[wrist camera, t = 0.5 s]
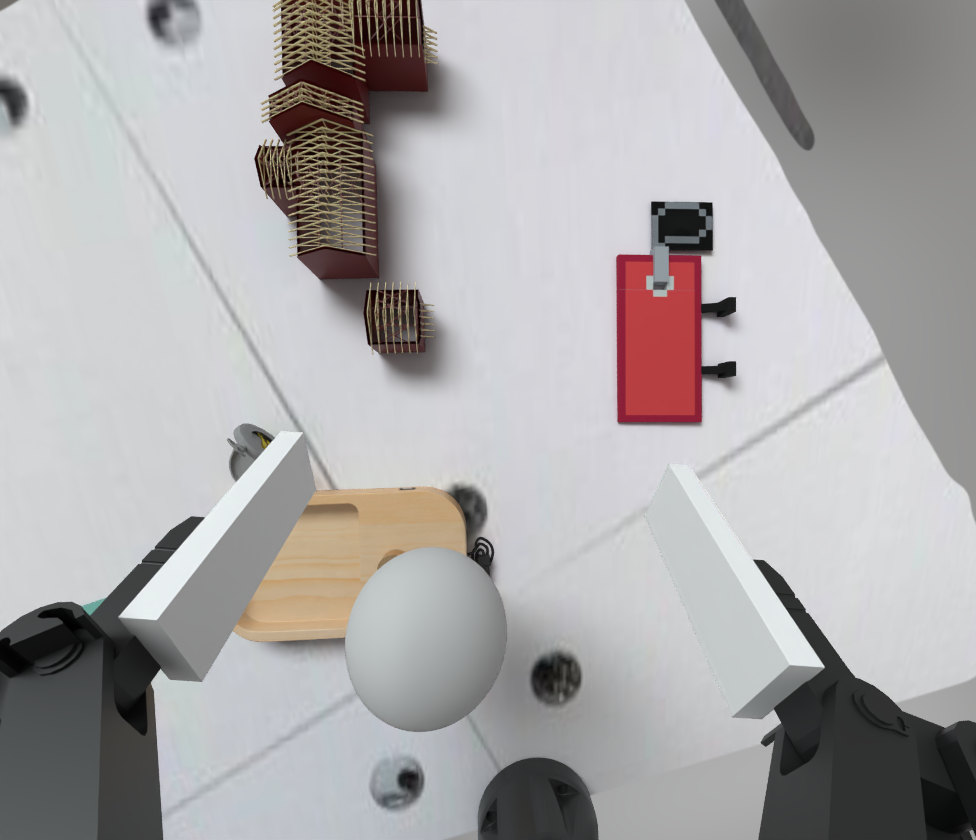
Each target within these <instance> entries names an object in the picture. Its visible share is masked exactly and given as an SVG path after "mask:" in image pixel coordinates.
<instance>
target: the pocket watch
mask: <svg viewBox="0 0 976 840" xmlns="http://www.w3.org/2000/svg"><path fill="white" fill-rule="evenodd" d="M234 437H235V439H236V442H237V443H238V444H235V443H234V442H233V441H232V440H231V439H227V441H228V443H229V444H230V445H231V446H232V447H233V448H234V449H233V452H232V454H231V456H230V460H229V469H230V472H231V475H232V477H233V479H234V480H235V481H236V482H237V481H238V480H239V479H240V477H241V476H242V475H243V474H244V473H245V472H246V471H247V469H248V468H249V467H250V466H251V465H252V464H253V463H254V461H255V460H256V459H257V458H258V457H259V456H260V455H261V453H262V452H263V451H264V450H265V449H266V448H267V447H268V445H269V444H270V443H271V442H272V441H273V440H274V439H275V438H274V437H273V436H272V435H271V434H269V433H268V432H266V431H265V430H263V429H261V428H259V427H257V426H255V425H252V424H242V425H240V426H238V427H237V428H236V429H235V430H234Z"/></svg>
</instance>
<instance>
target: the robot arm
mask: <svg viewBox="0 0 976 840" xmlns="http://www.w3.org/2000/svg"><path fill="white" fill-rule="evenodd" d="M315 491H316V487H315V483H314V478H313V474H312V469H311V465H310V461H309V456H308V452H307V447H306V443H305V438H304V434H303V433H302V432H290V431H281V432H280V433H279V434H278V435H277V436H276V437H275V439H274V440H273V441H272V442H271V443H270V444H269V445H268V447H267V448H266V449H265V450H264V451H263V452H262V453H261V455H260V456H259V457H258V458H257V459H256V460H255V461H254V463H253V464H252V465H251V466H250V467H249V468H248V469H247V471H246V472H245V473H244V474H243V475H242V476H241V477H240V479H239V480H238V481H237V482H236V483H235V484H234V485H233V487H232V488H231V489H230V490H229V491H228V492H227V493H226V494H225V496H224V497H223V498H222V499H221V500H220V501H219V502H218V504H217V505H216V506H215V507H214V508H213V509H212V510H211V512H210V513H209V514H208V515H207V516H206V517H193V516H191V517H190V518H188V519H187V520H185V521H184V522H182V523H181V524H179V525H178V526H176V527H175V528H173V529H172V530H170V531H169V532H168V533H167V534H166V536H165V537H164V538H163V539H162V540H161V541H160V542H159V543H158V544H157V545H156V546H155V549H154V550H151V551H150V552H149V554H148V555H147V556H146V557H145V558H144V559H143V560H142V563H141V564H138V565H137V566H136V567H135V568H134V569H133V570H132V572H131V573H130V574H129V575H128V576H127V577H126V578H125V579H124V580H123V581H122V582H121V583H120V584H119V585H118V586H117V587H116V589H115V590H114V591H113V592H112V593H111V594H110V595H109V596H108V597H107V598H106V599H105V600H104V601H103V602H102V603H101V604H100V605H99V607H98V608H97V609H96V610H95V611H94V612H93V613H92V614H91V615H89V614H88V613H87V612H86V611H85V610H84V609H83V608H82V607H81V606H80V605H78V604H75V603H73V602H57V603H54V604H50V605H47V606H44V607H40V608H38V609H36V610H34V611H32V612H30V613H28V614H26V615H24V616H22V617H20V618H19V619H17V620H16V621H14V622H13V623H11V624H10V625H9V626H7V627H6V628H4V629H3V630H2V631H1V632H0V840H163V829H162V813H161V798H160V782H159V766H158V751H157V735H156V719H155V704H154V690H153V688H152V685H151V681H152V680H153V678H154V677H155V676H156V674H157V673H158V671H159V670H160V668H161V670H162V671H163V672H164V673H165V674H166V676H167V677H168V678H169V679H170V680H183V681H198V682H202V681H203V679H204V678H205V676H206V674H207V673H208V671H209V669H210V668H211V666H212V664H213V663H214V661H215V659H216V658H217V656H218V654H219V653H220V651H221V649H222V647H223V646H224V644H225V642H226V641H227V639H228V637H229V636H230V634H231V632H232V631H233V629H234V627H235V626H236V624H237V622H238V621H239V619H240V617H241V615H242V614H243V612H244V610H245V609H246V607H247V605H248V604H249V602H250V600H251V599H252V597H253V595H254V594H255V592H256V590H257V589H258V587H259V585H260V583H261V582H262V580H263V578H264V577H265V575H266V573H267V572H268V570H269V568H270V567H271V565H272V563H273V562H274V560H275V558H276V557H277V555H278V553H279V552H280V550H281V548H282V546H283V545H284V543H285V541H286V540H287V538H288V536H289V535H290V533H291V531H292V530H293V528H294V526H295V525H296V523H297V521H298V520H299V518H300V516H301V514H302V513H303V511H304V509H305V508H306V506H307V504H308V503H309V501H310V499H311V498H312V496H313V494H314V493H315ZM644 517H645V519H646V521H647V524H648V526H649V528H650V530H651V533H652V535H653V537H654V540H655V542H656V544H657V546H658V549H659V551H660V553H661V556H662V558H663V560H664V563H665V565H666V567H667V569H668V572H669V574H670V576H671V579H672V581H673V583H674V586H675V588H676V590H677V592H678V595H679V597H680V599H681V602H682V604H683V606H684V608H685V611H686V613H687V615H688V618H689V620H690V622H691V625H692V627H693V629H694V631H695V634H696V636H697V638H698V641H699V643H700V645H701V648H702V650H703V652H704V654H705V657H706V659H707V661H708V664H709V666H710V668H711V670H712V673H713V675H714V677H715V680H716V682H717V684H718V687H719V689H720V691H721V693H722V696H723V698H724V700H725V703H726V705H727V707H728V709H729V712H730V714H731V716H732V717H736V718H751V719H762V718H764V717H765V716H766V715H767V714H769V713H770V712H771V711H772V710H773V709H774V710H775V712H776V713H777V715H778V717H779V719H780V721H781V724H780V725H778V726H777V727H776V728H774V729H773V730H772V731H770V732H769V733H768V734H766V735H765V736H764V738H763V739H762V741H761V744H763V745H764V746H765V747H766V746H768V745H769V744H770V743H772V742H773V741H774V740H775V741H774V747H773V753H772V759H771V765H770V771H769V778H768V784H767V790H766V796H765V802H764V809H763V814H762V821H761V827H760V833H759V840H973V839H972V837H971V835H970V832H969V831H970V830H973V831H974V833H975V836H976V723H975V722H971V721H959V722H957V723H955V724H953V725H951V726H949V727H947V728H944V727H942V726H939V725H937V724H934V723H931V722H929V721H926V720H923V719H921V718H918V717H916V716H913V715H911V714H908V713H906V712H903V711H902V710H901V709H900V708H899V707H898V706H897V705H896V704H895V703H894V702H893V701H892V700H891V699H890V698H889V697H888V696H887V695H885V694H884V693H883V692H881V691H880V690H879V689H877V688H876V687H875V686H873V685H871V684H869V683H867V682H865V681H863V680H861V679H858V678H855V676H854V675H853V674H852V673H851V671H850V670H849V669H848V668H847V666H846V665H845V663H844V662H843V661H842V659H841V658H840V656H839V655H838V654H837V652H836V651H835V649H834V648H833V647H832V645H831V644H830V643H829V641H828V640H827V638H826V637H825V636H824V634H823V633H822V631H821V630H820V629H819V627H818V626H817V624H816V623H815V622H814V620H813V619H812V617H811V616H810V615H809V613H806V611H805V610H806V609H805V608H804V606H803V605H802V604H801V602H800V601H799V599H798V598H795V594H794V592H793V591H792V590H791V588H790V587H789V585H788V584H787V583H786V581H785V580H784V578H783V577H782V576H781V575H780V574H779V573H778V572H776V571H775V570H774V569H773V568H772V567H771V566H770V565H769V564H768V563H766V562H765V561H764V560H752V558H751V557H750V555H749V554H748V552H747V551H746V549H745V548H744V546H743V545H742V543H741V542H740V540H739V539H738V537H737V536H736V534H735V533H734V531H733V530H732V528H731V527H730V525H729V524H728V522H727V521H726V519H725V518H724V516H723V515H722V513H721V512H720V510H719V509H718V507H717V506H716V504H715V503H714V501H713V500H712V499H711V497H710V496H709V494H708V493H707V491H706V490H705V488H704V487H703V485H702V484H701V482H700V481H699V479H698V478H697V476H696V475H695V473H694V472H693V470H692V469H691V467H690V466H689V465H678V464H668V466H667V468H666V470H665V473H664V475H663V477H662V479H661V481H660V484H659V486H658V488H657V490H656V492H655V495H654V497H653V499H652V501H651V503H650V506H649V508H648V510H647V512H646V514H645V516H644ZM478 840H598V824H597V819H596V814H595V811H594V807H593V804H592V801H591V798H590V795H589V792H588V790H587V788H586V786H585V784H584V783H583V781H582V780H581V779H580V777H579V776H578V775H577V774H576V773H575V772H574V771H573V770H571V769H570V768H569V767H567V766H566V765H564V764H562V763H560V762H557V761H554V760H551V759H545V758H530V759H525V760H521V761H518V762H516V763H513V764H511V765H509V766H508V767H506V768H505V769H503V770H502V771H501V772H500V773H498V774H497V775H496V776H495V777H494V779H493V780H492V781H491V782H490V784H489V785H488V787H487V788H486V790H485V792H484V794H483V796H482V799H481V802H480V806H479V811H478Z"/></svg>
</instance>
